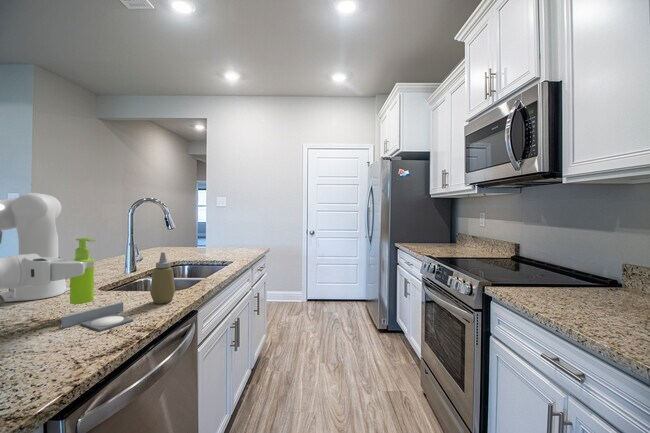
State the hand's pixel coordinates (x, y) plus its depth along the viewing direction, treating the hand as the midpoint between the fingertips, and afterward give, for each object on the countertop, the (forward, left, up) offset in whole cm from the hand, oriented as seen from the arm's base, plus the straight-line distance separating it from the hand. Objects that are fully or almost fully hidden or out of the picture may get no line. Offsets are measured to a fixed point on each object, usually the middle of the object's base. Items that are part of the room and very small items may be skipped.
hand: (86, 262), depth 96 cm
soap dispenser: (0, -1, -12) cm, 12 cm away
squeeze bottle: (+9, +20, -17) cm, 28 cm away
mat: (+14, -1, -16) cm, 22 cm away
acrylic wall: (+7, -1, -16) cm, 18 cm away
